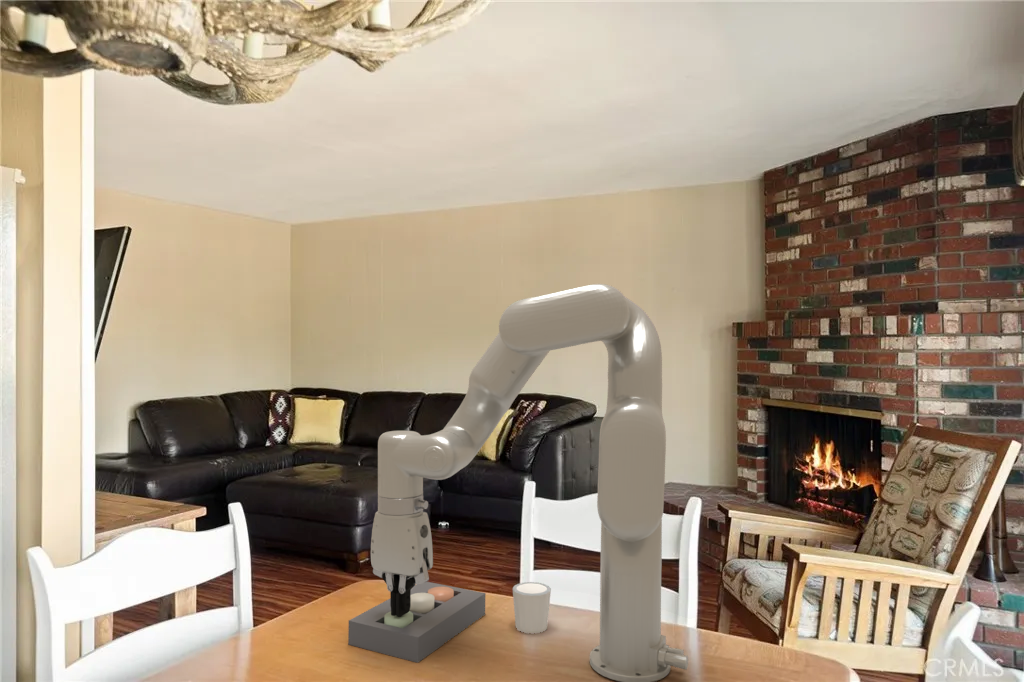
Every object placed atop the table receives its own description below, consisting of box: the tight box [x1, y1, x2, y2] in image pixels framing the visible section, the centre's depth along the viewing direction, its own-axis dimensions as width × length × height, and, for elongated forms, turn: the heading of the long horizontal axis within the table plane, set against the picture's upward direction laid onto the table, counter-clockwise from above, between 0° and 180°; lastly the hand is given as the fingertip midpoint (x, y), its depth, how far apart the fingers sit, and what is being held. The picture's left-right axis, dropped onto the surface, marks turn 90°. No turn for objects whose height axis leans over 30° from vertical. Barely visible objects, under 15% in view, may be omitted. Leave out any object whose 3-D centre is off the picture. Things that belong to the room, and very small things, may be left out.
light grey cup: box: [512, 581, 552, 635], centre depth 123 cm, size 7×7×7 cm
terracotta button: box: [428, 587, 454, 602], centre depth 127 cm, size 5×5×3 cm
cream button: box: [410, 593, 434, 614], centre depth 121 cm, size 5×5×3 cm
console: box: [347, 581, 486, 664], centre depth 121 cm, size 14×22×4 cm, turn 153°
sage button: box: [384, 611, 413, 628], centre depth 116 cm, size 5×5×3 cm
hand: (400, 613), depth 116 cm, fingers closed
